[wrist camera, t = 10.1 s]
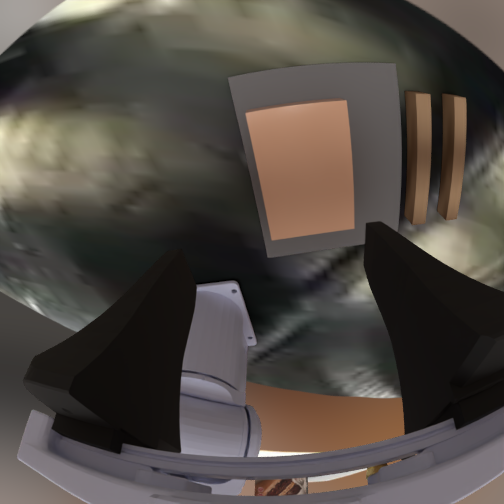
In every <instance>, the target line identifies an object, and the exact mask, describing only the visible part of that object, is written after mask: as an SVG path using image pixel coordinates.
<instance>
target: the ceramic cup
mask: <svg viewBox="0 0 504 504" xmlns="http://www.w3.org/2000/svg"><path fill="white" fill-rule="evenodd" d="M384 466H388V465H387V463H385V464H381V465H377V466H373V467H368V468H367V474H366V479H367V478H368V477H369V476H370V475H373V474H375V473H377V472H379V469H380V468H381V467H384Z"/></svg>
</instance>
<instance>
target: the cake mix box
mask: <svg viewBox="0 0 504 504" xmlns="http://www.w3.org/2000/svg"><path fill="white" fill-rule="evenodd" d="M301 494H308V477H305V478H293V479H275V480H255V496H284V495H301Z"/></svg>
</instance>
